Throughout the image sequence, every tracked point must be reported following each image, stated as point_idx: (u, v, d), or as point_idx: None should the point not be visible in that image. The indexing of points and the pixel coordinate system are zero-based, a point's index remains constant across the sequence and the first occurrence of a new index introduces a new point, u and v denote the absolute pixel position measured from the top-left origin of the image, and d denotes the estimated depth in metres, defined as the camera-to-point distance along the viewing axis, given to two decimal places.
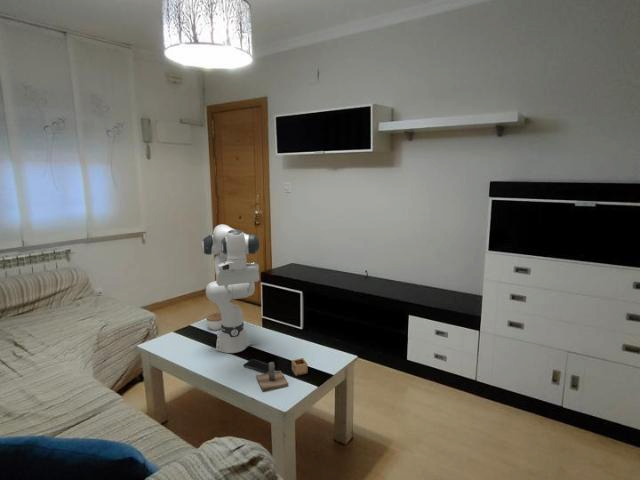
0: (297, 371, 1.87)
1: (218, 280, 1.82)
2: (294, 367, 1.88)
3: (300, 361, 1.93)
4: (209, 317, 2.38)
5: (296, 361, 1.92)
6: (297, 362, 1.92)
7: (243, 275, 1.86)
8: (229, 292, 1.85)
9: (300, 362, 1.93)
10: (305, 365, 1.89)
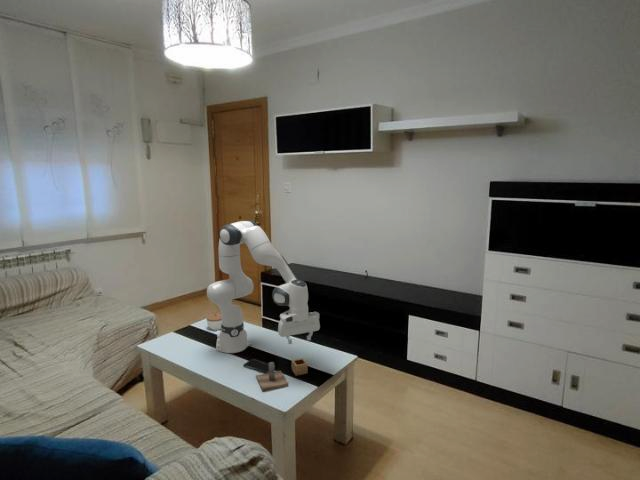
0: (297, 371, 1.87)
1: (281, 331, 1.81)
2: (294, 367, 1.88)
3: (300, 361, 1.93)
4: (209, 317, 2.38)
5: (296, 361, 1.92)
6: (297, 362, 1.92)
7: (305, 325, 1.86)
8: (290, 342, 1.85)
9: (300, 362, 1.93)
10: (305, 365, 1.89)
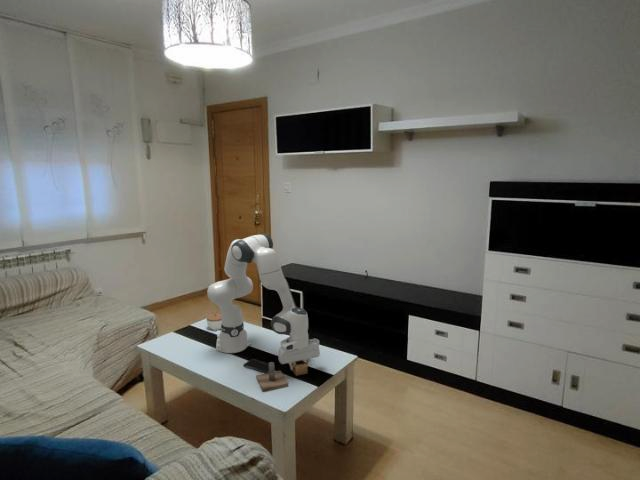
0: (297, 371, 1.87)
1: (281, 359, 1.84)
2: (294, 367, 1.88)
3: (300, 361, 1.93)
4: (209, 317, 2.38)
5: (296, 361, 1.92)
6: (297, 362, 1.92)
7: (305, 352, 1.89)
8: (293, 368, 1.89)
9: (300, 362, 1.93)
10: (305, 365, 1.89)
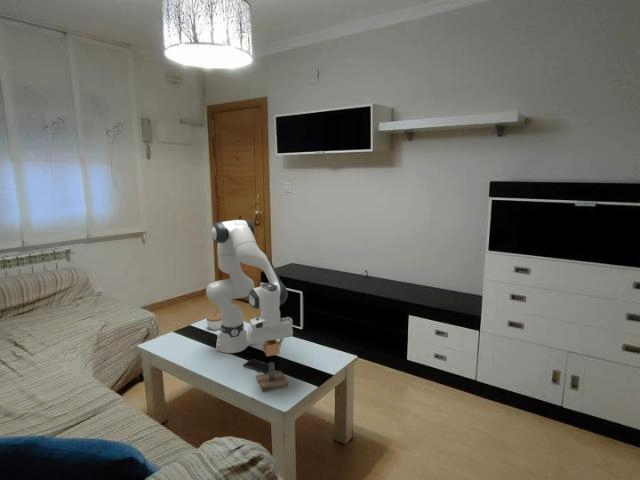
0: (268, 352, 1.75)
1: (251, 338, 1.72)
2: (265, 347, 1.76)
3: (272, 341, 1.81)
4: (209, 317, 2.38)
5: (268, 341, 1.80)
6: (269, 342, 1.80)
7: (276, 331, 1.76)
8: (263, 348, 1.76)
9: (272, 342, 1.81)
10: (277, 345, 1.76)
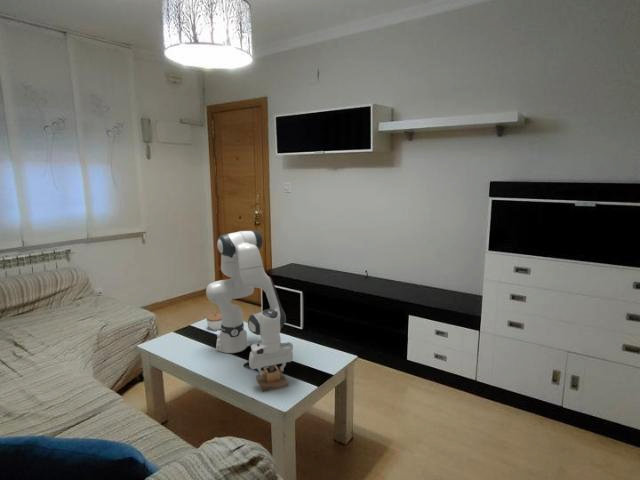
0: (268, 379, 1.78)
1: (252, 364, 1.74)
2: (266, 375, 1.79)
3: None
4: (209, 317, 2.38)
5: (268, 368, 1.82)
6: None
7: (277, 357, 1.79)
8: (262, 374, 1.78)
9: None
10: (277, 373, 1.79)
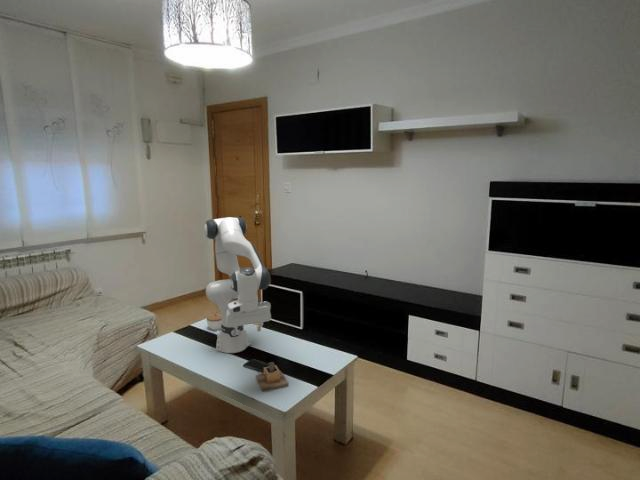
0: (268, 379, 1.78)
1: (228, 322, 1.72)
2: (266, 375, 1.79)
3: None
4: (209, 317, 2.38)
5: (268, 368, 1.82)
6: None
7: (254, 315, 1.76)
8: (239, 333, 1.76)
9: None
10: (277, 373, 1.79)
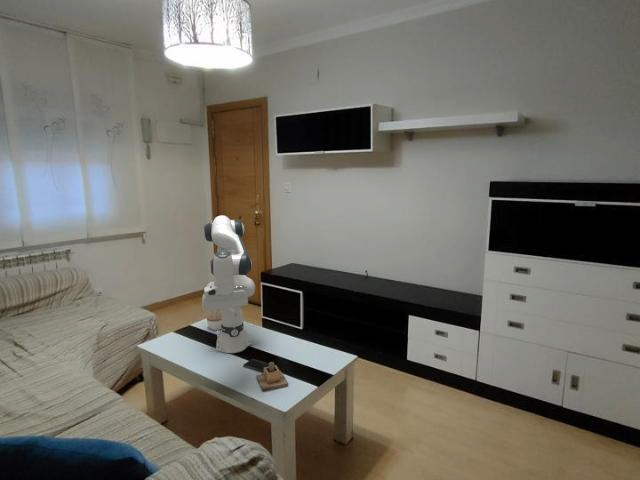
0: (268, 379, 1.78)
1: (204, 305, 1.71)
2: (266, 375, 1.79)
3: None
4: (209, 317, 2.38)
5: (268, 368, 1.82)
6: None
7: (230, 299, 1.76)
8: (215, 317, 1.75)
9: None
10: (277, 373, 1.79)
